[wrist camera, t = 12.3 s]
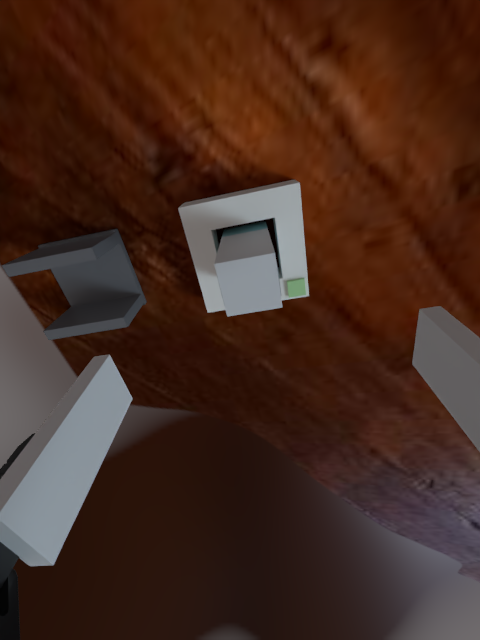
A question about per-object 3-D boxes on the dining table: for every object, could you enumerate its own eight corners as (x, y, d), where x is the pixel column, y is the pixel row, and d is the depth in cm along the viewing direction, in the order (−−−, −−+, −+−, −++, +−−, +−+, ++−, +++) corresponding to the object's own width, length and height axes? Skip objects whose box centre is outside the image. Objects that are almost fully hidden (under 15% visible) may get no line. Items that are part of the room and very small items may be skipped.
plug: (223, 229, 27) (213, 264, 19) (265, 221, 27) (275, 252, 18) (231, 268, 29) (226, 316, 21) (271, 261, 29) (283, 307, 20)
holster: (41, 244, 28) (-1, 262, 24) (117, 228, 27) (90, 244, 23) (79, 313, 32) (50, 342, 27) (146, 302, 31) (128, 329, 27)
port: (184, 202, 26) (177, 208, 23) (294, 179, 25) (300, 182, 22) (210, 299, 31) (207, 314, 28) (303, 283, 30) (309, 297, 27)
